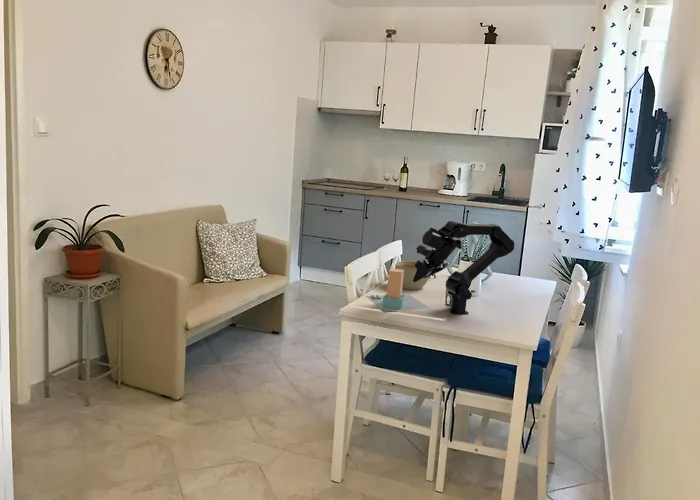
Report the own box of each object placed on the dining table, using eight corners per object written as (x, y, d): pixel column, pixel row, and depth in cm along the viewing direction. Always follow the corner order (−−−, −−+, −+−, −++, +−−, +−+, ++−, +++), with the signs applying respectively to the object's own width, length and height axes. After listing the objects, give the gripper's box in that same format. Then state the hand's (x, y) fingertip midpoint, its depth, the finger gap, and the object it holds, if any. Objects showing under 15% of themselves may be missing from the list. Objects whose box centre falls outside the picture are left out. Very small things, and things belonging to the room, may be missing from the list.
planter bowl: (427, 285, 281) (430, 262, 279) (431, 294, 265) (434, 270, 263) (392, 282, 281) (394, 259, 279) (394, 291, 265) (396, 267, 263)
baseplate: (431, 310, 240) (432, 299, 240) (384, 312, 233) (385, 300, 233) (409, 296, 259) (410, 286, 258) (364, 297, 252) (365, 287, 251)
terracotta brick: (401, 297, 242) (403, 269, 240) (399, 300, 237) (401, 272, 235) (389, 295, 243) (391, 268, 241) (386, 298, 239) (388, 270, 237)
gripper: (438, 234, 244) (415, 261, 252) (417, 239, 229) (393, 268, 236) (458, 253, 241) (434, 281, 248) (438, 260, 225) (413, 289, 232)
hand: (418, 279), depth 241 cm, fingers open, 9 cm apart
